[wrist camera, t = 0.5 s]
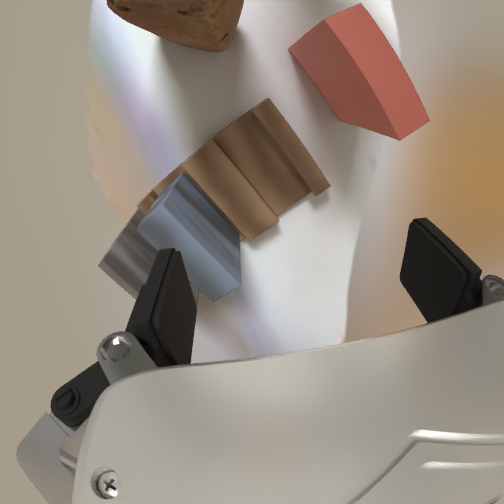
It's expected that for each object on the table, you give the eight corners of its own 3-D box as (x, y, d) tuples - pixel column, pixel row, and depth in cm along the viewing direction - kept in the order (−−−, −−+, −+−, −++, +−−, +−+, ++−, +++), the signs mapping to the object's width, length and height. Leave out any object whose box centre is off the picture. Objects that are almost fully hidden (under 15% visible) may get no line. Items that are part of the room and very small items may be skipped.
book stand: (266, 98, 32) (288, 98, 19) (324, 179, 39) (371, 230, 25) (138, 202, 39) (94, 262, 25) (201, 265, 45) (189, 341, 31)
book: (312, 35, 28) (361, 3, 14) (361, 106, 33) (429, 120, 19) (288, 49, 29) (324, 19, 15) (339, 120, 34) (399, 140, 21)
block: (246, 12, 26) (259, -61, 9) (226, 59, 29) (215, 18, 12) (168, -5, 24) (114, -72, 6) (148, 42, 27) (71, 5, 10)
